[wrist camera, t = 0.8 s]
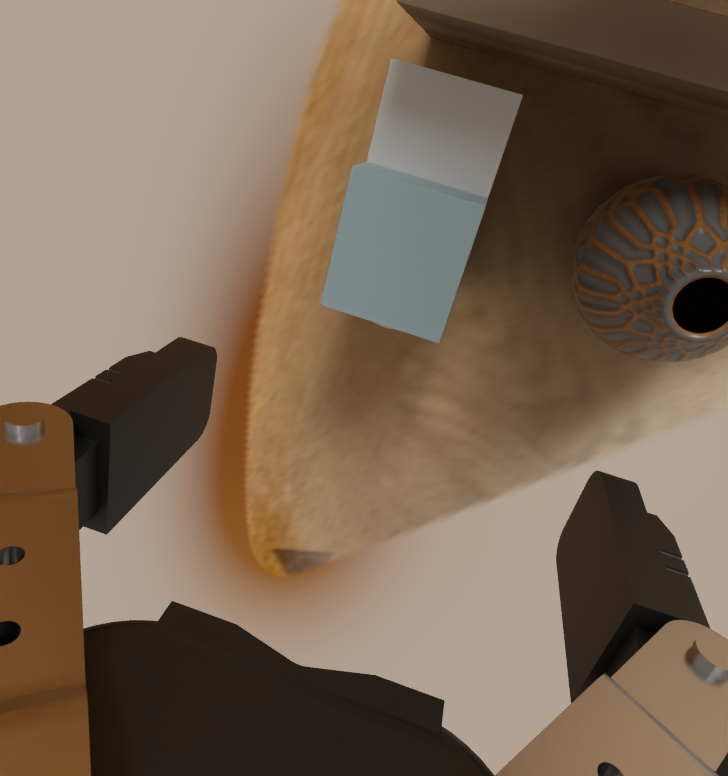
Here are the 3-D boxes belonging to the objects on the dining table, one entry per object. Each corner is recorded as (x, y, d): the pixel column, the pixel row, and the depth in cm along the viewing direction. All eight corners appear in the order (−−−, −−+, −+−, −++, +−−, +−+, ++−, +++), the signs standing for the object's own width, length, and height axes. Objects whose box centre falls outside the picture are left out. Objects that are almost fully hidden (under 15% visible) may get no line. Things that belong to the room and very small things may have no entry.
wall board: (443, -8, 24) (412, -67, 16) (874, 109, 22) (1062, 104, 15) (431, 37, 24) (396, 0, 17) (848, 153, 23) (1014, 170, 15)
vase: (532, 239, 27) (543, 288, 19) (677, 130, 24) (760, 135, 16) (618, 353, 28) (660, 443, 20) (766, 263, 25) (882, 327, 17)
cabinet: (415, 69, 25) (378, 51, 18) (520, 99, 25) (524, 92, 18) (362, 274, 29) (315, 324, 22) (451, 302, 29) (432, 362, 22)
